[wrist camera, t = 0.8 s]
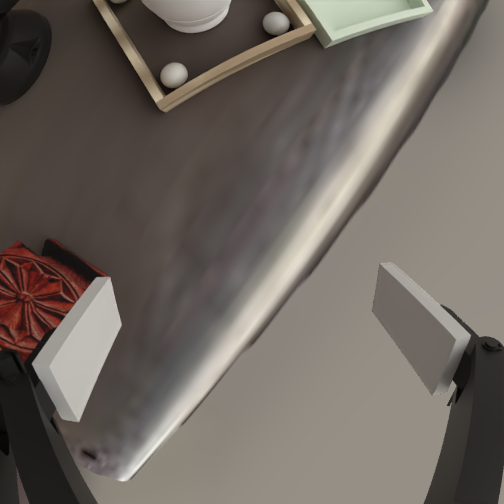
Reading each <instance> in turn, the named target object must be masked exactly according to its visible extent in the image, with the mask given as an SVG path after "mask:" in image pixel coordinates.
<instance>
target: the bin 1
mask: <svg viewBox="0 0 504 504" xmlns="http://www.w3.org/2000/svg"><path fill="white" fill-rule="evenodd" d="M274 1H275V2H276V4H277V5H278V6H279V8H280V9H281V11H282V12H283V13H284V15H286V16H287V17H288V19H289V22H290V23H291V25H292V26H293V28H294V29H295V30H293V31H290V32H288V33H285V34H283V35H281V36H278V37H276V38H274V39H271V40H269V41H267V42H265V43H262V44H260V45H258V46H256V47H254V48H252V49H249V50H247V51H245V52H243V53H241V54H239V55H237V56H235V57H233V58H231V59H229V60H227V61H225V62H224V63H222V64H220V65H218V66H216V67H214V68H212V69H211V70H209V71H207V72H205V73H203V74H202V75H200V76H198V77H196V78H195V79H193V80H191V81H190V82H188V83H186V84H185V85H183V86H181V87H180V88H178V89H176V90H175V91H173V92H172V93H170V94H168V95H167V96H166V95H165V94H164V92H163V90H162V89H161V87H160V86H159V84H158V82H157V81H156V79H155V78H154V76H153V74H152V73H151V71H150V70H149V68H148V67H147V65H146V63H145V62H144V60H143V59H142V57H141V55H140V54H139V52H138V51H137V49H136V47H135V46H134V44H133V43H132V41H131V39H130V38H129V36H128V35H127V33H126V32H125V30H124V28H123V27H122V25H121V24H120V22H119V20H118V19H117V17H116V16H115V14H114V13H113V11H112V9H111V8H110V6H109V5H108V3H107V2H106V0H93V2H94V3H95V5H96V6H97V8H98V10H99V11H100V13H101V15H102V16H103V18H104V20H105V21H106V23H107V24H108V26H109V28H110V29H111V31H112V33H113V34H114V36H115V37H116V39H117V41H118V42H119V44H120V46H121V47H122V49H123V50H124V52H125V54H126V55H127V57H128V59H129V60H130V62H131V63H132V65H133V67H134V68H135V70H136V72H137V73H138V75H139V76H140V78H141V80H142V81H143V83H144V85H145V86H146V88H147V89H148V91H149V93H150V94H151V96H152V98H153V99H154V101H155V102H156V104H157V106H158V107H159V109H160V110H162V111H164V112H166V113H167V112H168V111H170V110H171V109H173V108H174V107H176V106H178V105H179V104H181V103H182V102H184V101H186V100H187V99H189V98H191V97H192V96H194V95H196V94H197V93H199V92H201V91H202V90H204V89H206V88H208V87H209V86H211V85H213V84H215V83H217V82H218V81H220V80H222V79H224V78H226V77H228V76H229V75H231V74H233V73H235V72H237V71H239V70H241V69H243V68H245V67H247V66H249V65H251V64H253V63H255V62H257V61H259V60H261V59H263V58H266V57H268V56H270V55H272V54H274V53H276V52H279V51H281V50H283V49H285V48H288V47H290V46H292V45H295V44H297V43H300V42H302V41H305V40H307V39H309V38H310V37H311V36H312V35H313V34H314V32H315V31H316V28H315V27H314V25H313V24H312V22H311V21H310V20H309V18H308V17H307V15H306V14H305V12H304V11H303V10H302V8H301V7H300V5H299V4H298V3H297V1H296V0H274Z"/></svg>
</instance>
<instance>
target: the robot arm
mask: <svg viewBox="0 0 504 504" xmlns="http://www.w3.org/2000/svg"><path fill="white" fill-rule="evenodd" d="M18 1H19V0H0V105H5V104H9V103H11V102H13V101H15V100H17V99H18V98H19V97H21V96H22V95H23V94H24V93H25V92H26V91H27V90H28V89H29V88H30V87H31V86H32V84H33V83H34V82H35V80H36V79H37V77H38V76H39V74H40V72H41V70H42V69H43V66H44V64H45V62H46V59H47V57H48V54H49V50H50V45H51V28H50V25H49V22H48V21H47V19H46V18H45V17H44V16H42V15H41V14H39V13H37V12H35V11H32V10H11V9H12V8H13V7H14V6H15V5H16V3H17V2H18ZM372 312H373V313H374V315H375V316H376V317H377V318H378V320H379V321H380V323H381V324H382V325H383V327H384V328H385V329H386V331H387V332H388V334H389V335H390V336H391V338H392V339H393V340H394V342H395V343H396V345H397V346H398V347H399V349H400V350H401V352H402V353H403V354H404V356H405V357H406V358H407V360H408V361H409V363H410V364H411V365H412V367H413V368H414V370H415V371H416V373H417V374H418V376H419V377H420V378H421V380H422V382H423V383H424V384H425V386H426V387H427V389H428V390H429V392H430V393H431V395H432V396H434V395H438V394H441V393H444V392H446V391H447V390H448V388H449V386H450V384H451V382H452V380H453V381H454V382H455V384H456V385H457V386H456V389H455V391H454V392H453V395H452V396H451V398H450V400H449V402H448V404H447V406H450V403H451V402H452V405H451V410H450V415H449V420H448V424H447V429H446V433H445V437H444V441H443V445H442V449H441V453H440V456H439V460H438V463H437V466H436V470H435V473H434V476H433V479H432V482H431V485H430V488H429V491H428V494H427V497H426V499H425V502H424V504H498V499H499V494H500V488H501V482H502V475H503V466H504V347H503V345H502V344H501V343H500V342H499V341H498V340H496V339H494V338H491V337H486V336H484V337H479V336H478V335H477V334H475V332H474V331H473V330H472V329H471V328H470V327H468V325H466V324H465V323H464V322H462V320H461V319H460V318H459V317H457V315H456V314H455V313H454V312H453V311H452V310H451V309H448V308H447V307H445V306H443V305H439V304H438V303H437V302H436V301H435V300H434V299H433V298H432V297H431V296H429V295H428V294H427V293H426V292H425V291H424V290H423V289H422V288H421V287H420V286H418V285H417V284H416V283H415V282H414V281H413V280H412V279H411V278H409V277H408V276H407V275H406V274H405V273H404V272H403V271H401V270H400V269H399V268H398V267H397V266H396V265H395V264H393V263H380V264H379V270H378V277H377V284H376V290H375V296H374V301H373V307H372ZM121 326H122V324H121V320H120V316H119V313H118V309H117V304H116V300H115V296H114V292H113V287H112V283H111V278H110V277H96V278H95V280H94V281H93V282H92V283H91V285H90V286H89V287H88V288H87V290H86V291H85V292H84V293H83V295H82V296H81V297H80V298H79V300H78V301H77V302H76V303H75V305H74V306H73V307H72V309H71V310H70V311H69V313H68V314H67V315H66V317H65V318H64V319H63V321H62V322H61V323H60V325H59V326H58V327H53V328H52V329H51V330H49V331H48V332H47V333H45V335H44V336H43V337H42V339H41V340H40V343H38V344H37V345H36V347H35V349H34V350H33V351H32V352H31V354H30V355H29V357H28V358H27V359H26V361H25V362H24V364H23V362H22V360H21V358H20V356H19V354H18V352H17V350H15V349H10V348H7V349H3V350H1V351H0V504H20V503H19V495H18V485H17V474H16V473H17V472H16V466H17V469H18V472H19V476H20V479H21V481H22V484H23V487H24V490H25V493H26V495H27V498H28V501H29V503H30V504H98V503H97V501H96V500H95V498H94V497H93V495H92V493H91V491H90V490H89V488H88V486H87V484H86V483H85V481H84V479H83V477H82V475H81V474H80V472H79V470H78V468H77V466H76V464H75V462H74V460H73V458H72V456H71V454H70V452H69V450H68V448H67V445H66V443H65V441H64V439H63V437H62V434H61V432H60V430H59V427H58V425H57V423H56V421H55V419H54V418H53V414H54V412H55V410H57V411H58V413H59V415H60V416H61V418H62V419H64V420H69V421H75V422H79V421H80V418H81V416H82V413H83V411H84V408H85V406H86V403H87V401H88V399H89V396H90V394H91V391H92V389H93V387H94V384H95V382H96V380H97V378H98V375H99V373H100V371H101V368H102V366H103V364H104V362H105V360H106V357H107V355H108V353H109V351H110V349H111V347H112V344H113V342H114V340H115V338H116V336H117V334H118V332H119V330H120V328H121Z"/></svg>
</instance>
